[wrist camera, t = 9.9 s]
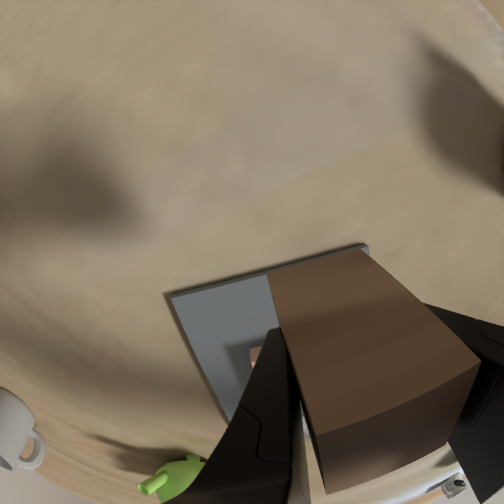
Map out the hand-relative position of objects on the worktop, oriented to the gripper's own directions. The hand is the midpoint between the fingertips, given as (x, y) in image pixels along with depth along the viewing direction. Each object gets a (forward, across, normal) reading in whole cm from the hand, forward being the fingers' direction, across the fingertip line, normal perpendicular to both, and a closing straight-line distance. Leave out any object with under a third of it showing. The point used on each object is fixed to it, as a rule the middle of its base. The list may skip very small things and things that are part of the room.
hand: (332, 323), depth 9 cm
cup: (+11, +36, +15) cm, 40 cm away
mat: (+11, +1, +11) cm, 15 cm away
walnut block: (+1, 0, 0) cm, 1 cm away
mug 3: (+11, -37, +87) cm, 95 cm away
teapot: (+11, +15, +27) cm, 33 cm away
